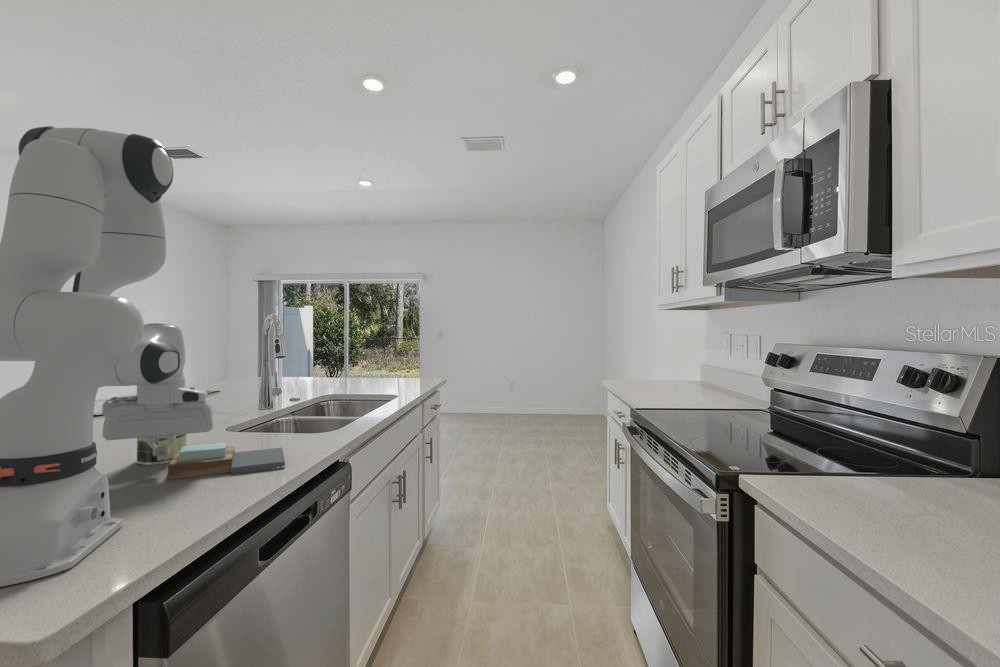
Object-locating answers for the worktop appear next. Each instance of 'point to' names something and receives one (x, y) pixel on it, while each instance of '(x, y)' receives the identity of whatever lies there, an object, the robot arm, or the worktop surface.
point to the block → (203, 451)
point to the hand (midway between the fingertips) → (161, 455)
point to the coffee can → (146, 451)
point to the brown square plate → (200, 466)
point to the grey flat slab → (257, 460)
